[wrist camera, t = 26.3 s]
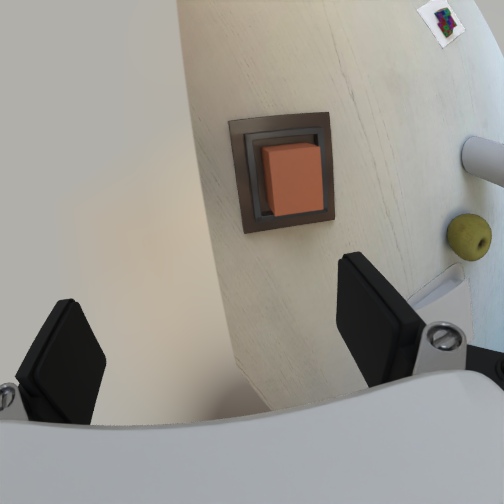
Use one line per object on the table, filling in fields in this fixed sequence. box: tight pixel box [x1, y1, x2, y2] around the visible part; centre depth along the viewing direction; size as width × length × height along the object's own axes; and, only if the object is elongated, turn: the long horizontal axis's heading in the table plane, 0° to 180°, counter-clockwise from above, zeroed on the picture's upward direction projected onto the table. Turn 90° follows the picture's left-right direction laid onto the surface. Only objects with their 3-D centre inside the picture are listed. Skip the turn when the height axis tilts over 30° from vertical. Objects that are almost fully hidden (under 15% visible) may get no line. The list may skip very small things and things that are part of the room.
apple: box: [447, 214, 492, 261], centre depth 41 cm, size 8×8×7 cm
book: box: [407, 263, 474, 344], centre depth 51 cm, size 15×23×4 cm
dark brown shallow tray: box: [228, 112, 335, 234], centre depth 36 cm, size 14×12×2 cm
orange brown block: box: [261, 142, 324, 216], centre depth 34 cm, size 7×6×5 cm
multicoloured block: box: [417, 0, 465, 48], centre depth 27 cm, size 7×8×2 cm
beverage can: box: [462, 137, 504, 187], centre depth 33 cm, size 6×6×12 cm
